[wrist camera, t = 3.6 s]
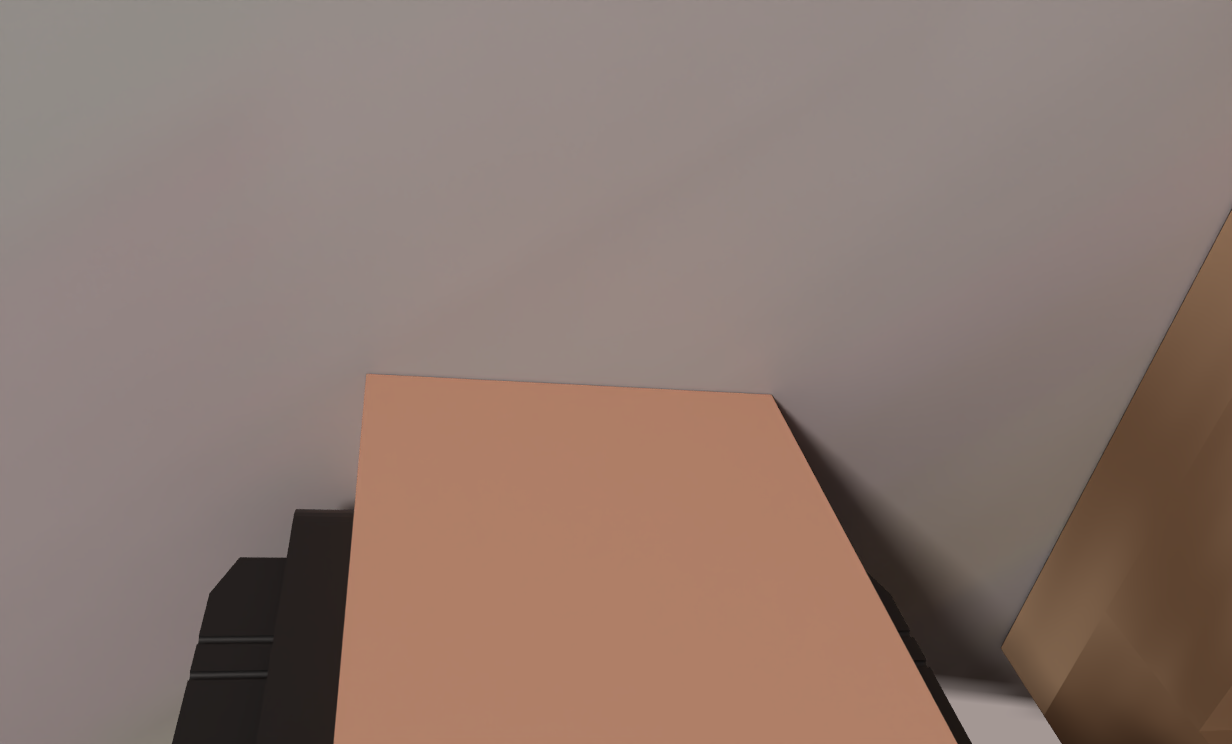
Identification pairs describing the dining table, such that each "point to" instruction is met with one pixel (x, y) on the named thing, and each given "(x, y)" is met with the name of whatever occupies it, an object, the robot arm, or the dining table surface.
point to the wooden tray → (1148, 554)
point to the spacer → (606, 577)
